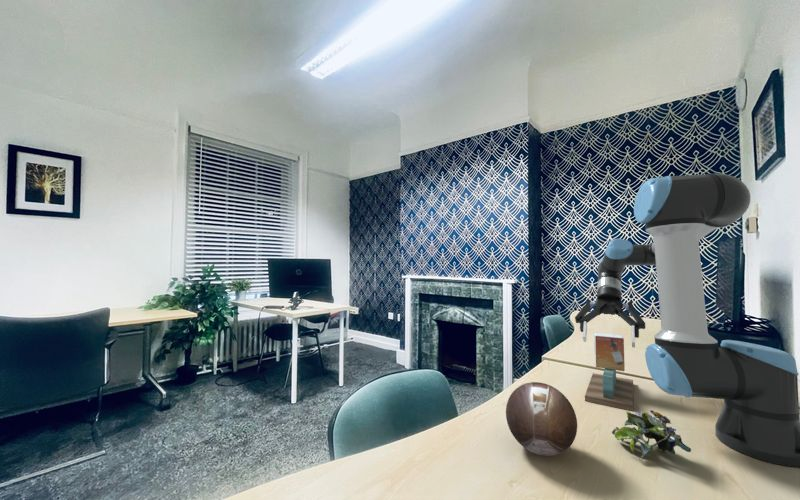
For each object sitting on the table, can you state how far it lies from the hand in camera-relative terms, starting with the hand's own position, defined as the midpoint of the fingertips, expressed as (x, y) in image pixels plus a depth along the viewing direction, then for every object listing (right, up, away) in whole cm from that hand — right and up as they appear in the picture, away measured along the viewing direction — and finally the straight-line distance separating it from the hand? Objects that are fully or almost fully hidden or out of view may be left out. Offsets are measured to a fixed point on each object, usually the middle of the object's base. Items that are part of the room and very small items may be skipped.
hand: (608, 342), depth 106 cm
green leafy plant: (-13, -16, -34) cm, 40 cm away
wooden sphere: (-36, -16, -32) cm, 51 cm away
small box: (0, -8, 0) cm, 8 cm away
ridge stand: (0, -16, -1) cm, 16 cm away
